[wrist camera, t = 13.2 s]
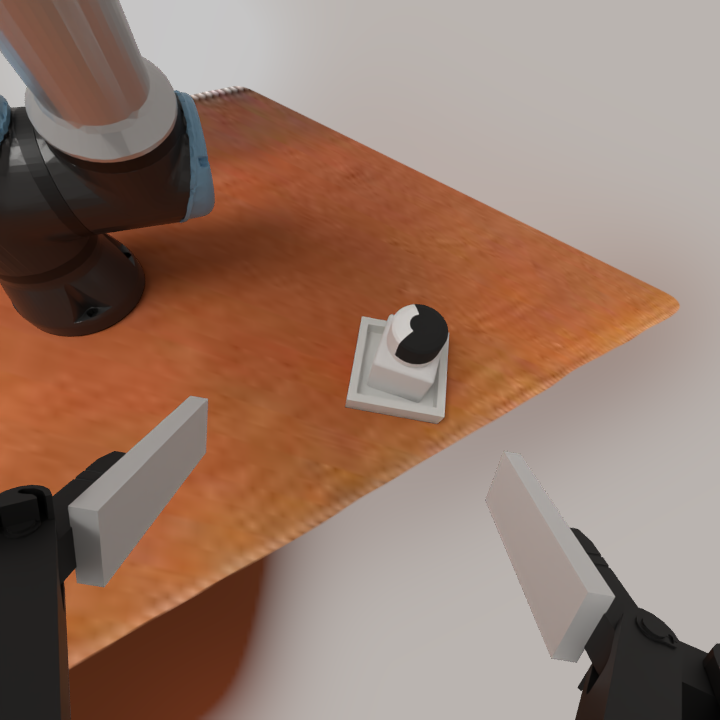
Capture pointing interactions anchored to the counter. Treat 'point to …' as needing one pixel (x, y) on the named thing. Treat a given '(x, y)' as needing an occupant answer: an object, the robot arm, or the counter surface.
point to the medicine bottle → (409, 352)
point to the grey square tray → (386, 403)
